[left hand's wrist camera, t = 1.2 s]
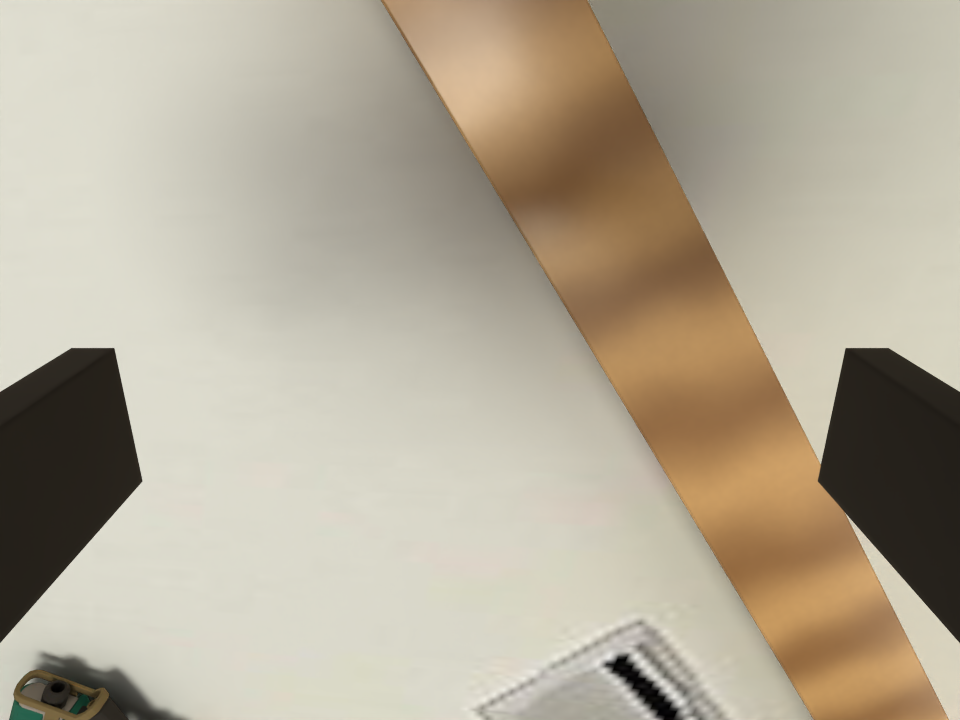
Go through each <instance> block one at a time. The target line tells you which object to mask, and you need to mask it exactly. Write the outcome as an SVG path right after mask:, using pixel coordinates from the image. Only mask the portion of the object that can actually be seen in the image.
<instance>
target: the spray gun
mask: <svg viewBox="0 0 960 720" xmlns="http://www.w3.org/2000/svg"><path fill="white" fill-rule="evenodd" d="M33 678H42V679H44V680H47V681H50V683H49V684H48V685H45V684H42V683H32V684H27V685H25V684H26V683H27V682H28V681H29V680H30V679H33ZM24 685H25V686H24ZM23 686H24V687H23ZM78 692H80V693H82V695H80V696H79V698H78V697H77V695H78ZM13 695H14V703H13V706H12V710H11V714H10V718H9V720H128V719H127V717H126V716H125V715H124V714H123V713H122V711H121V710H120V709H119V708H118V707H117V705H116V704H115V703H114V702H113V700H112V699H111V698H108V697H109V693H108V691H107V690H106V689H105V688H99V689H96V690H94V689H92V688H89V687H86V686H84V685H81V684H78V683H76V682H73V681H70V680H68V679H65V678H62V677H60V676H57V675H54V674H52V673H49V672H46V671H44V670H33V671H30V672H29V673H27V674H26V675H25V676H24V677H23V678H22V679H21V680H20V682H19V683H18V684H17V686H16V688H15V690H14V694H13ZM87 695H88V696H91V697H93V698H95V697H97V699H94V700H92V701H91V702H90V701H89V698H88V696H87Z"/></svg>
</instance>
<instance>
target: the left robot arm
mask: <svg viewBox="0 0 960 720" xmlns="http://www.w3.org/2000/svg"><path fill="white" fill-rule="evenodd" d="M141 482H142V477H141V472H140V467H139V463H138V458H137V453H136V449H135V444H134V439H133V434H132V430H131V425H130V420H129V415H128V411H127V406H126V401H125V397H124V392H123V387H122V382H121V378H120V373H119V368H118V364H117V359H116V354H115V349H114V348H71V349H70V350H68V351H66V352H65V353H63V354H61V355H60V356H58V357H56V358H55V359H53V360H52V361H50V362H48V363H47V364H45V365H43V366H42V367H40V368H39V369H37V370H35V371H34V372H32V373H30V374H29V375H27V376H26V377H24V378H22V379H21V380H19V381H17V382H16V383H14V384H12V385H11V386H9V387H8V388H6V389H4V390H3V391H1V392H0V642H1V641H2V640H3V639H4V638H5V637H6V636H7V635H8V633H9V632H10V631H11V630H12V629H13V628H14V627H15V625H16V624H17V623H18V622H19V621H20V620H21V619H22V617H23V616H24V615H25V614H26V613H27V612H28V611H29V610H30V608H31V607H32V606H33V605H34V604H35V603H36V602H37V600H38V599H39V598H40V597H41V596H42V595H43V594H44V592H45V591H46V590H47V589H48V588H49V587H50V586H51V585H52V583H53V582H54V581H55V580H56V579H57V578H58V577H59V575H60V574H61V573H62V572H63V571H64V570H65V569H66V567H67V566H68V565H69V564H70V563H71V562H72V561H73V560H74V558H75V557H76V556H77V555H78V554H79V553H80V552H81V550H82V549H83V548H84V547H85V546H86V545H87V544H88V543H89V541H90V540H91V539H92V538H93V537H94V536H95V535H96V533H97V532H98V531H99V530H100V529H101V528H102V527H103V525H104V524H105V523H106V522H107V521H108V520H109V519H110V518H111V516H112V515H113V514H114V513H115V512H116V511H117V510H118V508H119V507H120V506H121V505H122V504H123V503H124V502H125V500H126V499H127V498H128V497H129V496H130V495H131V494H132V493H133V491H134V490H135V489H136V488H137V487H138V486H139V485H140V483H141ZM818 482H819V483H820V485H821V486H822V487H823V488H824V489H825V490H826V491H827V493H828V494H829V495H830V496H831V497H832V498H833V499H834V500H835V502H836V503H837V504H838V505H839V506H840V507H841V508H842V510H843V511H844V512H845V513H846V514H847V515H848V516H849V518H850V519H851V520H852V521H853V522H854V523H855V524H856V525H857V527H858V528H859V529H860V530H861V531H862V532H863V533H864V535H865V536H866V537H867V538H868V539H869V540H870V541H871V543H872V544H873V545H874V546H875V547H876V548H877V549H878V550H879V552H880V553H881V554H882V555H883V556H884V557H885V558H886V560H887V561H888V562H889V563H890V564H891V565H892V566H893V567H894V569H895V570H896V571H897V572H898V573H899V574H900V575H901V577H902V578H903V579H904V580H905V581H906V582H907V583H908V585H909V586H910V587H911V588H912V589H913V590H914V591H915V592H916V594H917V595H918V596H919V597H920V598H921V599H922V600H923V602H924V603H925V604H926V605H927V606H928V607H929V608H930V610H931V611H932V612H933V613H934V614H935V615H936V616H937V617H938V619H939V620H940V621H941V622H942V623H943V624H944V625H945V627H946V628H947V629H948V630H949V631H950V632H951V633H952V635H953V636H954V637H955V638H956V639H957V640H958V641H959V642H960V392H959V391H957V390H956V389H954V388H952V387H951V386H949V385H948V384H946V383H944V382H943V381H941V380H939V379H938V378H936V377H934V376H933V375H931V374H930V373H928V372H926V371H925V370H923V369H921V368H920V367H918V366H917V365H915V364H913V363H912V362H910V361H908V360H907V359H905V358H904V357H902V356H900V355H899V354H897V353H895V352H894V351H892V350H890V349H889V348H846V349H845V354H844V359H843V364H842V368H841V373H840V378H839V382H838V387H837V392H836V397H835V401H834V406H833V411H832V415H831V420H830V425H829V430H828V434H827V439H826V444H825V448H824V453H823V458H822V463H821V467H820V472H819V477H818Z"/></svg>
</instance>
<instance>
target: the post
mask: <svg viewBox="0 0 960 720" xmlns="http://www.w3.org/2000/svg"><path fill="white" fill-rule="evenodd" d="M381 1H382V3H383V5H384V6H385V8H386V10H387V11H388V13H389V15H390V16H391V18H392V20H393V21H394V23H395V25H396V26H397V28H398V30H399V31H400V33H401V35H402V36H403V38H404V39H405V41H406V43H407V44H408V46H409V48H410V49H411V51H412V53H413V54H414V56H415V58H416V59H417V61H418V63H419V64H420V66H421V68H422V69H423V71H424V73H425V74H426V76H427V78H428V79H429V81H430V83H431V84H432V86H433V88H434V89H435V91H436V93H437V94H438V96H439V98H440V99H441V101H442V103H443V104H444V106H445V108H446V109H447V111H448V113H449V114H450V116H451V118H452V119H453V121H454V123H455V124H456V126H457V128H458V129H459V131H460V133H461V134H462V136H463V138H464V139H465V141H466V143H467V144H468V146H469V147H470V149H471V151H472V152H473V154H474V156H475V157H476V159H477V161H478V162H479V164H480V166H481V167H482V169H483V171H484V172H485V174H486V176H487V177H488V179H489V181H490V182H491V184H492V186H493V187H494V189H495V191H496V192H497V194H498V196H499V197H500V199H501V201H502V202H503V204H504V206H505V207H506V209H507V211H508V212H509V214H510V216H511V217H512V219H513V221H514V222H515V224H516V226H517V227H518V229H519V231H520V232H521V234H522V236H523V237H524V239H525V241H526V242H527V244H528V246H529V247H530V249H531V250H532V252H533V254H534V255H535V257H536V259H537V260H538V262H539V264H540V265H541V267H542V269H543V270H544V272H545V274H546V275H547V277H548V279H549V280H550V282H551V284H552V285H553V287H554V289H555V290H556V292H557V294H558V295H559V297H560V299H561V300H562V302H563V304H564V305H565V307H566V309H567V310H568V312H569V314H570V315H571V317H572V319H573V320H574V322H575V324H576V325H577V327H578V329H579V330H580V332H581V334H582V335H583V337H584V339H585V340H586V342H587V344H588V345H589V347H590V349H591V350H592V352H593V353H594V355H595V357H596V358H597V360H598V362H599V363H600V365H601V367H602V368H603V370H604V372H605V373H606V375H607V377H608V378H609V380H610V382H611V383H612V385H613V387H614V388H615V390H616V392H617V393H618V395H619V397H620V398H621V400H622V402H623V403H624V405H625V407H626V408H627V410H628V412H629V413H630V415H631V417H632V418H633V420H634V422H635V423H636V425H637V427H638V428H639V430H640V432H641V433H642V435H643V437H644V438H645V440H646V442H647V443H648V445H649V447H650V448H651V450H652V452H653V453H654V455H655V457H656V458H657V460H658V461H659V463H660V465H661V466H662V468H663V470H664V471H665V473H666V475H667V476H668V478H669V480H670V481H671V483H672V485H673V486H674V488H675V490H676V491H677V493H678V495H679V496H680V498H681V500H682V501H683V503H684V505H685V506H686V508H687V510H688V511H689V513H690V515H691V516H692V518H693V520H694V521H695V523H696V525H697V526H698V528H699V530H700V531H701V533H702V535H703V536H704V538H705V540H706V541H707V543H708V545H709V546H710V548H711V550H712V551H713V553H714V555H715V556H716V558H717V560H718V561H719V563H720V564H721V566H722V568H723V569H724V571H725V573H726V574H727V576H728V578H729V579H730V581H731V583H732V584H733V586H734V588H735V589H736V591H737V593H738V594H739V596H740V598H741V599H742V601H743V603H744V604H745V606H746V608H747V609H748V611H749V613H750V614H751V616H752V618H753V619H754V621H755V623H756V624H757V626H758V628H759V629H760V631H761V633H762V634H763V636H764V638H765V639H766V641H767V643H768V644H769V646H770V648H771V649H772V651H773V653H774V654H775V656H776V658H777V659H778V661H779V663H780V664H781V666H782V667H783V669H784V671H785V672H786V674H787V676H788V677H789V679H790V681H791V682H792V684H793V686H794V687H795V689H796V691H797V692H798V694H799V696H800V697H801V699H802V701H803V702H804V704H805V706H806V707H807V709H808V711H809V712H810V714H811V716H812V717H813V719H814V720H949V719H948V717H947V715H946V713H945V711H944V709H943V707H942V705H941V703H940V701H939V699H938V697H937V695H936V693H935V691H934V689H933V687H932V685H931V683H930V681H929V679H928V677H927V675H926V673H925V671H924V669H923V667H922V665H921V663H920V661H919V659H918V657H917V655H916V653H915V651H914V650H913V648H912V646H911V644H910V642H909V640H908V638H907V636H906V634H905V632H904V630H903V628H902V626H901V624H900V622H899V620H898V618H897V616H896V614H895V612H894V610H893V608H892V606H891V604H890V602H889V600H888V598H887V596H886V594H885V592H884V590H883V588H882V586H881V584H880V582H879V580H878V578H877V576H876V574H875V572H874V570H873V568H872V566H871V564H870V562H869V560H868V558H867V556H866V554H865V552H864V550H863V548H862V546H861V544H860V542H859V540H858V538H857V536H856V534H855V532H854V530H853V528H852V526H851V524H850V522H849V520H848V518H847V516H846V514H845V512H844V511H843V510H842V508H841V507H840V506H839V505H838V504H837V503H836V502H835V500H834V499H833V498H832V497H831V496H830V495H829V494H828V493H827V491H826V490H825V489H824V488H823V487H822V486H821V485H820V483H819V482H818V477H819V472H820V467H821V464H820V462H819V460H818V458H817V456H816V454H815V452H814V450H813V448H812V446H811V444H810V442H809V440H808V438H807V436H806V434H805V432H804V430H803V429H802V427H801V425H800V423H799V421H798V419H797V417H796V415H795V413H794V411H793V409H792V407H791V405H790V403H789V401H788V399H787V397H786V395H785V393H784V391H783V389H782V387H781V385H780V383H779V381H778V379H777V377H776V375H775V373H774V371H773V369H772V367H771V365H770V363H769V361H768V359H767V357H766V355H765V353H764V351H763V349H762V347H761V345H760V343H759V341H758V339H757V337H756V335H755V333H754V331H753V329H752V327H751V325H750V323H749V321H748V319H747V317H746V315H745V313H744V311H743V309H742V307H741V305H740V303H739V301H738V299H737V297H736V295H735V293H734V291H733V289H732V287H731V285H730V283H729V281H728V279H727V277H726V275H725V273H724V271H723V269H722V267H721V265H720V263H719V261H718V259H717V257H716V255H715V253H714V251H713V249H712V247H711V245H710V243H709V241H708V239H707V237H706V235H705V233H704V231H703V229H702V227H701V225H700V223H699V221H698V219H697V217H696V215H695V213H694V211H693V209H692V207H691V206H690V204H689V202H688V200H687V198H686V196H685V194H684V192H683V190H682V188H681V186H680V184H679V182H678V180H677V178H676V176H675V174H674V172H673V170H672V168H671V166H670V164H669V162H668V160H667V158H666V156H665V154H664V152H663V150H662V148H661V146H660V144H659V142H658V140H657V138H656V136H655V134H654V132H653V130H652V128H651V126H650V124H649V122H648V120H647V118H646V116H645V114H644V112H643V110H642V108H641V106H640V104H639V102H638V100H637V98H636V96H635V94H634V92H633V90H632V88H631V86H630V84H629V82H628V80H627V78H626V76H625V74H624V72H623V70H622V68H621V66H620V64H619V62H618V60H617V58H616V56H615V54H614V52H613V50H612V48H611V46H610V44H609V42H608V40H607V38H606V36H605V34H604V32H603V30H602V28H601V26H600V24H599V22H598V20H597V18H596V16H595V14H594V12H593V10H592V8H591V6H590V4H589V2H588V0H381Z"/></svg>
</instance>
